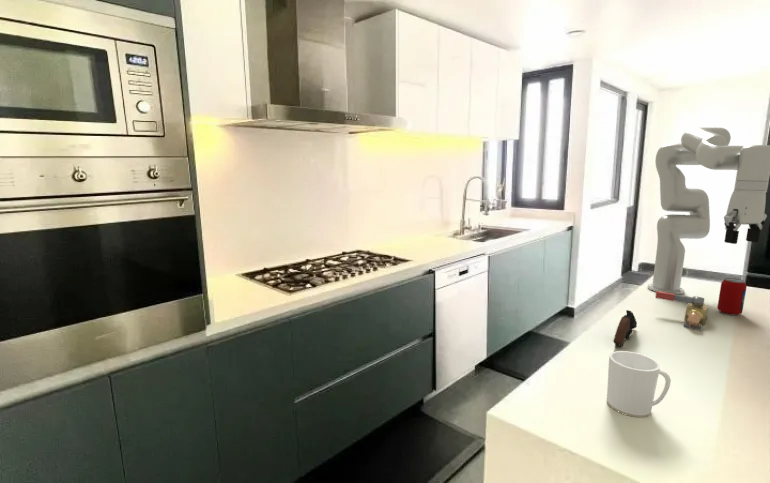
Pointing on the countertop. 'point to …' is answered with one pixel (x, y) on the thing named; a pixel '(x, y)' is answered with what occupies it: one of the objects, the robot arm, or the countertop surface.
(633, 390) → the mug
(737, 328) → the countertop surface
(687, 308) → the pipework
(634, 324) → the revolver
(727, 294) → the beverage can
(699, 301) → the lever
